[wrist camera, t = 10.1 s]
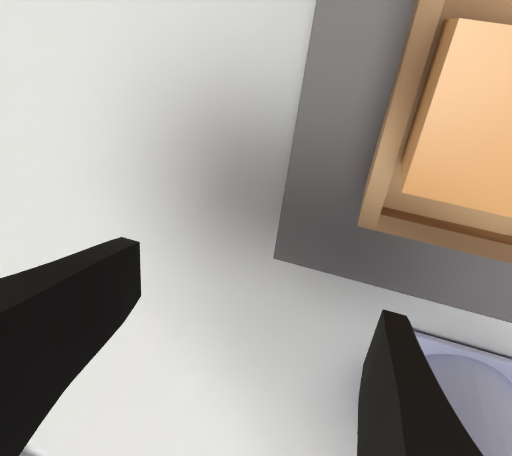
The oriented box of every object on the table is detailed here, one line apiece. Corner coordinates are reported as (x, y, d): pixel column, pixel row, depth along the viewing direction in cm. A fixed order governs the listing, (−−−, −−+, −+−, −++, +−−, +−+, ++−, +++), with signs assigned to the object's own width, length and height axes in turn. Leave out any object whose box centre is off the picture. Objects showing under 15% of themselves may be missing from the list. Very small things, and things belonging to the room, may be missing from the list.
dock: (524, 291, 20) (544, 331, 17) (287, 231, 22) (273, 258, 20) (815, -232, 11) (941, -308, 8) (372, -236, 13) (366, -296, 11)
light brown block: (518, 183, 12) (551, 226, 10) (400, 158, 13) (401, 192, 10) (587, 39, 10) (651, 44, 8) (444, 18, 11) (459, 17, 8)
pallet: (504, 218, 16) (531, 268, 12) (364, 187, 17) (357, 226, 14) (638, -65, 11) (732, -97, 8) (437, -81, 12) (452, -117, 9)
